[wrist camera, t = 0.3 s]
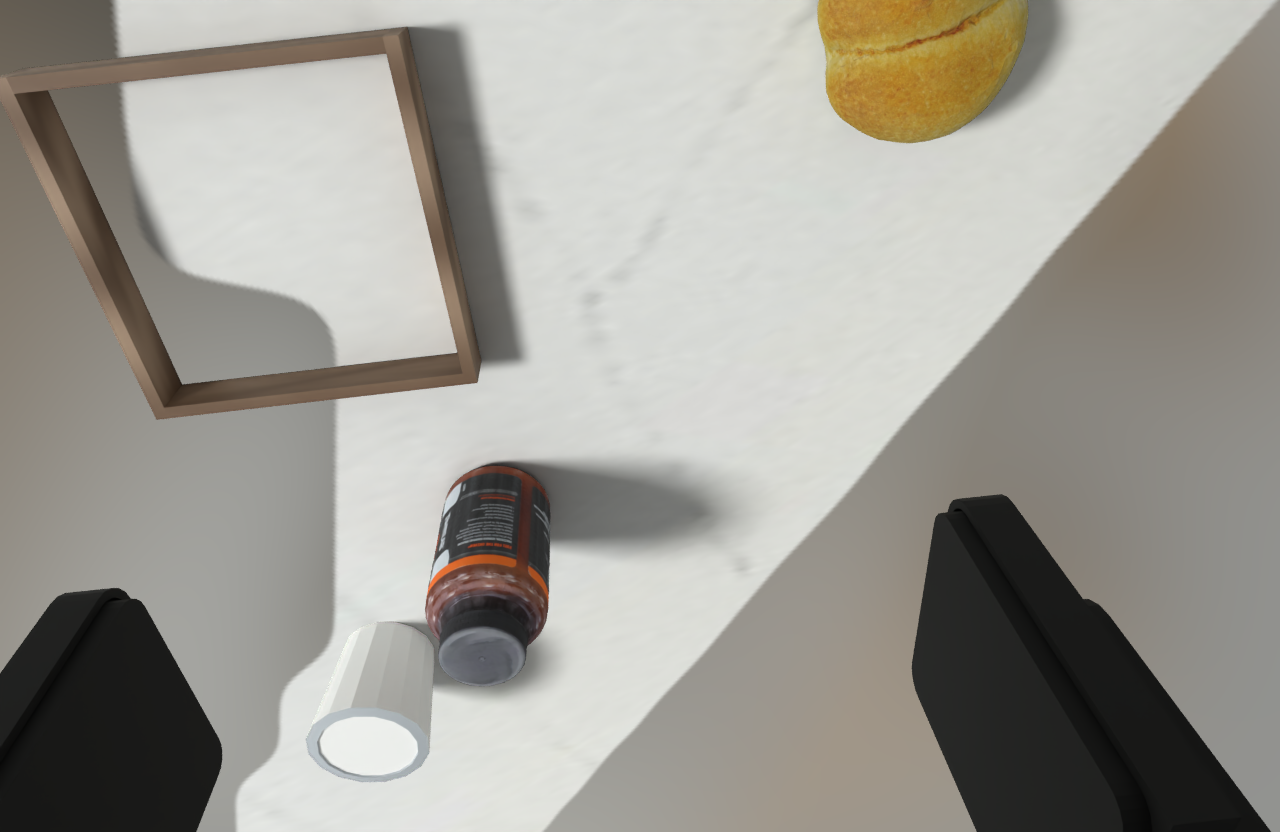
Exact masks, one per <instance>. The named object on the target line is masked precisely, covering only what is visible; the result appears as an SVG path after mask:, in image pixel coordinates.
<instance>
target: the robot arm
mask: <svg viewBox="0 0 1280 832" xmlns="http://www.w3.org/2000/svg"><path fill="white" fill-rule="evenodd" d="M912 675H913V682H914V686H915V690H916V692H917V695H918V698H919V700H920V702H921V705H922V707H923V709H924V712H925V714H926V716H927V718H928V721H929V723H930V725H931V728H932V730H933V732H934V734H935V737H936V739H937V741H938V744H939V746H940V748H941V750H942V753H943V755H944V757H945V760H946V762H947V764H948V767H949V769H950V771H951V773H952V776H953V778H954V780H955V783H956V785H957V787H958V790H959V792H960V794H961V796H962V799H963V801H964V803H965V806H966V808H967V810H968V812H969V815H970V817H971V819H972V822H973V824H974V826H975V829H976V831H977V832H1271V831H1270V830H1269V828H1268V827H1267V826H1266V824H1265V823H1264V822H1263V820H1262V819H1261V818H1260V817H1259V816H1258V814H1257V812H1256V811H1255V810H1254V809H1253V807H1252V806H1251V805H1250V803H1249V802H1248V800H1247V799H1246V798H1245V796H1244V795H1243V794H1242V792H1241V791H1240V790H1239V788H1238V787H1237V786H1236V784H1235V783H1234V782H1233V780H1232V779H1231V778H1230V776H1229V775H1228V774H1227V772H1226V771H1225V770H1224V768H1223V767H1222V766H1221V764H1220V763H1219V762H1218V760H1217V759H1216V758H1215V756H1214V755H1213V754H1212V752H1211V751H1210V750H1209V748H1208V747H1207V746H1206V745H1205V743H1204V742H1203V740H1202V739H1201V738H1200V736H1199V735H1198V734H1197V732H1196V731H1195V730H1194V728H1193V727H1192V726H1191V724H1190V723H1189V722H1188V720H1187V719H1186V717H1185V716H1184V715H1183V714H1182V712H1181V711H1180V710H1179V708H1178V707H1177V705H1176V704H1175V703H1174V701H1173V700H1172V699H1171V697H1170V696H1169V695H1168V693H1167V692H1166V691H1165V689H1164V688H1163V687H1162V685H1161V684H1160V683H1159V681H1158V680H1157V679H1156V677H1155V676H1154V675H1153V673H1152V672H1151V671H1150V669H1149V668H1148V667H1147V665H1146V664H1145V663H1144V661H1143V660H1142V659H1141V657H1140V656H1139V655H1138V653H1137V652H1136V651H1135V649H1134V648H1133V647H1132V645H1131V644H1130V643H1129V641H1128V640H1127V639H1126V637H1125V636H1124V635H1123V633H1122V632H1121V631H1120V629H1119V628H1118V627H1117V625H1116V624H1115V623H1114V621H1113V620H1112V619H1111V617H1110V616H1109V615H1108V614H1107V613H1106V612H1105V611H1104V610H1103V608H1102V607H1101V606H1100V605H1098V604H1097V603H1095V602H1093V601H1091V600H1089V599H1082V597H1081V596H1080V594H1079V593H1078V592H1077V590H1076V589H1075V588H1074V586H1073V585H1072V583H1071V582H1070V581H1069V579H1068V578H1067V577H1066V575H1065V574H1064V572H1063V571H1062V570H1061V568H1060V567H1059V566H1058V564H1057V563H1056V562H1055V560H1054V559H1053V558H1052V556H1051V555H1050V553H1049V552H1048V550H1047V549H1046V548H1045V546H1044V545H1043V544H1042V542H1041V541H1040V540H1039V538H1038V537H1037V535H1036V534H1035V533H1034V531H1033V530H1032V528H1031V527H1030V526H1029V525H1028V523H1027V522H1026V520H1025V519H1024V517H1023V516H1022V515H1021V513H1020V512H1019V511H1018V509H1017V508H1016V507H1015V505H1014V504H1013V503H1012V501H1011V500H1010V499H1009V498H1008V497H1007V496H1004V495H1002V494H1001V495H991V496H981V497H972V498H962V499H956V500H953V501H952V502H951V504H950V506H949V509H948V512H947V513H940V514H938V515H937V516H936V518H935V522H934V528H933V534H932V540H931V547H930V553H929V559H928V566H927V573H926V578H925V585H924V591H923V598H922V604H921V610H920V616H919V623H918V629H917V636H916V642H915V648H914V655H913V661H912ZM221 763H222V747H221V743H220V740H219V738H218V736H217V734H216V733H215V731H214V729H213V727H212V725H211V724H210V722H209V720H208V718H207V717H206V715H205V713H204V711H203V709H202V708H201V706H200V704H199V702H198V700H197V699H196V697H195V695H194V693H193V691H192V690H191V688H190V686H189V684H188V683H187V681H186V679H185V677H184V675H183V674H182V672H181V670H180V668H179V667H178V665H177V663H176V661H175V660H174V658H173V656H172V654H171V652H170V650H169V649H168V647H167V645H166V644H165V642H164V640H163V638H162V636H161V635H160V633H159V631H158V629H157V628H156V625H155V624H154V622H153V620H152V618H151V617H150V615H149V613H148V611H147V610H146V608H145V606H144V605H143V604H142V602H141V601H139V600H137V599H131V598H130V597H129V596H128V595H127V593H126V592H125V591H123V590H121V589H119V588H110V589H100V590H90V591H81V592H73V593H64V594H62V595H60V596H58V597H57V598H56V599H55V600H54V601H53V602H52V603H51V604H50V605H49V607H48V608H47V609H46V611H45V612H44V614H43V615H42V616H41V618H40V619H39V620H38V622H37V624H36V625H35V626H34V628H33V629H32V630H31V632H30V633H29V634H28V636H27V637H26V638H25V640H24V641H23V643H22V644H21V646H20V647H19V648H18V650H17V651H16V652H15V654H14V655H13V657H12V658H11V659H10V661H9V662H8V663H7V665H6V666H5V668H4V669H3V670H2V672H1V673H0V832H196V831H197V828H198V826H199V823H200V821H201V818H202V816H203V813H204V811H205V808H206V806H207V803H208V800H209V798H210V795H211V793H212V790H213V787H214V785H215V783H216V780H217V777H218V775H219V772H220V769H221Z"/></svg>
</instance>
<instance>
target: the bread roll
mask: <svg viewBox="0 0 1280 832" xmlns="http://www.w3.org/2000/svg"><path fill="white" fill-rule="evenodd" d="M817 10H818V24H819V29H820V33H821V37H822V40H823V43H824V46H825V53H826V61H827V63H826V73H825V75H826V92H827V95H828V98H829V101H830V103H831V105H832V107H833V109H834V110H835V112H836V113H837V114H838V115H839V116H840V117H841V118H842V119H843V120H844V121H846V122H847V123H848V124H850V125H851V126H853V127H854V128H856V129H857V130H859V131H861V132H862V133H864V134H866V135H869V136H871V137H873V138H876V139H878V140H885V141H892V142H899V143H916V142H924V141H929V140H933V139H936V138H940V137H943V136H946V135H949V134H951V133H953V132H955V131H957V130H958V129H960V128H961V127H963V126H964V125H966V124H967V123H969V122H970V121H972V120H973V119H974V118H976V117H977V116H978V115H979V114H980V113H981V112H982V111H983V110H984V109H986V108H987V106H988V105H989V104H990V103H991V102H992V100H993V99H994V98H995V97H996V95H997V94H998V92H999V91H1000V90H1001V88H1002V87H1003V85H1004V83H1005V82H1006V80H1007V78H1008V76H1009V74H1010V73H1011V71H1012V69H1013V67H1014V65H1015V62H1016V60H1017V58H1018V55H1019V53H1020V51H1021V48H1022V46H1023V43H1024V39H1025V34H1026V28H1027V22H1028V0H819V2H818V8H817Z"/></svg>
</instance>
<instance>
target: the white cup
mask: <svg viewBox="0 0 1280 832" xmlns="http://www.w3.org/2000/svg"><path fill="white" fill-rule="evenodd" d="M433 675H434V647H433V645H432V644H431V642H430V641H429V639H428V638H427V636H426V635H424V634H423V633H421V632H420V631H418V630H417V629H415V628H414V627H411V626H408V625H404V624H401V623H397V622H376V623H372V624H369V625H365V626H362V627H360V628H359V629H358V630H356V631H355V632H354V633H352V634H351V635H350V636H349V638H348V641H347V643H346V645H345V647H344V649H343V652H342V654H341V657H340V659H339V661H338V664H337V666H336V668H335V671H334V673H333V676H332V678H331V680H330V683H329V685H328V688H327V690H326V692H325V695H324V697H323V699H322V702H321V704H320V707H319V709H318V711H317V714H316V716H315V719H314V721H313V723H312V726H311V728H310V730H309V733H308V735H307V738H306V743H307V748H308V753H309V755H310V756H311V757H312V758H313V759H314V761H315V762H316V763H317V764H318V765H319V766H320V767H321V768H323V769H325V770H327V771H329V772H330V773H332V774H334V775H336V776H338V777H341V778H346V779H350V780H355V781H359V782H386V781H389V780H393V779H397V778H401V777H404V776H407V775H408V774H410V773H411V772H413V771H415V770H416V769H418V768H419V767H421V766H422V764H423V762H424V761H425V759H426V757H427V756H428V754H429V748H430V730H431V711H432V693H433Z"/></svg>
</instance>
